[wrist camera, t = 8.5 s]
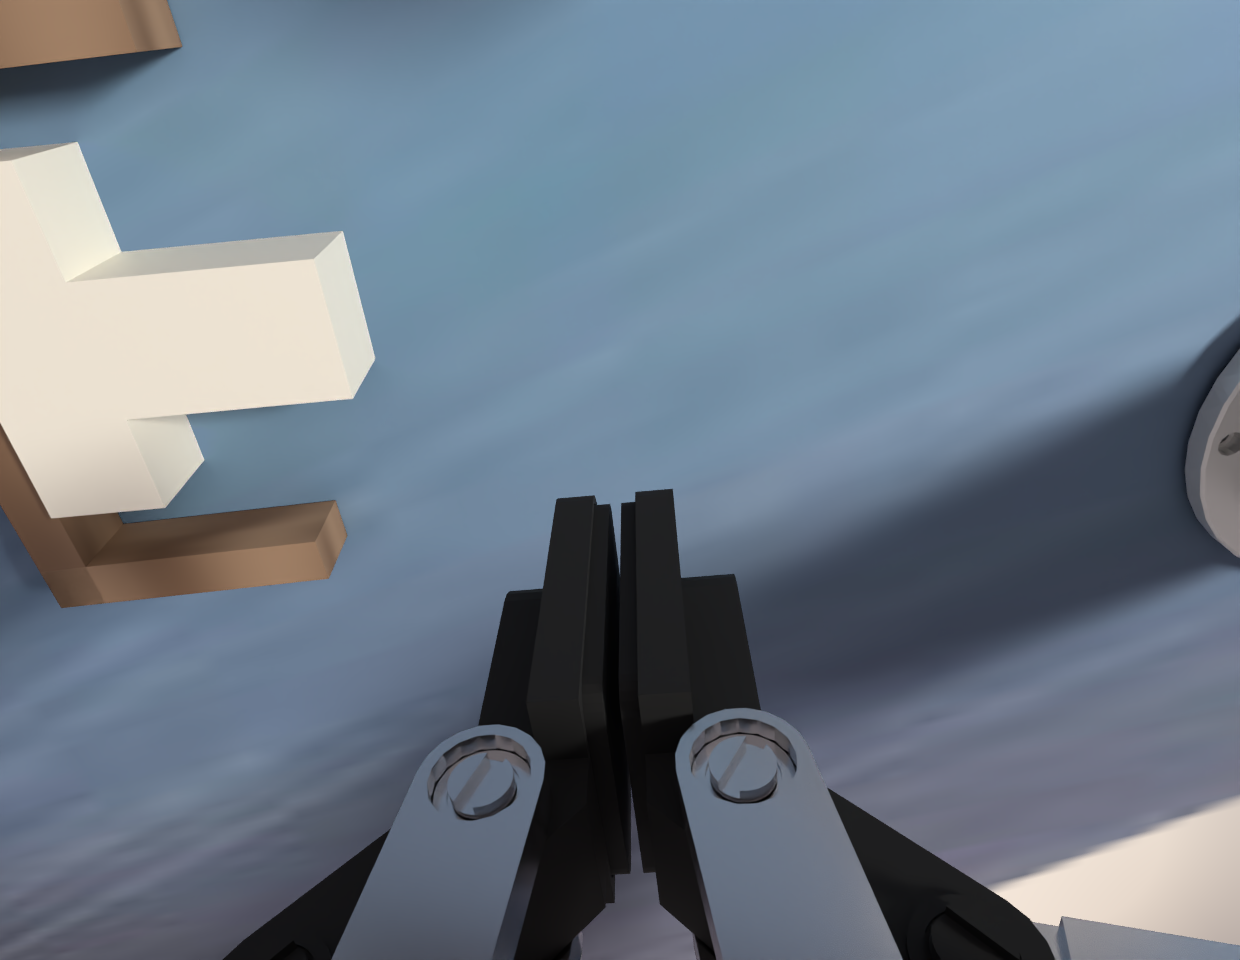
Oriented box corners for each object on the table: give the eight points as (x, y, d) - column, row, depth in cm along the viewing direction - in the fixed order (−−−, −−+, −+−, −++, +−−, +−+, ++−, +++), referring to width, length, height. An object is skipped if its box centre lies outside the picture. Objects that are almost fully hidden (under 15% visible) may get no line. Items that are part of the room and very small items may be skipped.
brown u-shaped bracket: (159, -22, 20) (109, -24, 18) (347, 535, 29) (328, 578, 27) (-194, 21, 20) (-285, 24, 18) (99, 562, 29) (61, 608, 27)
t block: (314, 119, 22) (279, 135, 19) (396, 441, 27) (377, 487, 25) (-50, 153, 22) (-133, 174, 19) (101, 469, 27) (51, 518, 25)
